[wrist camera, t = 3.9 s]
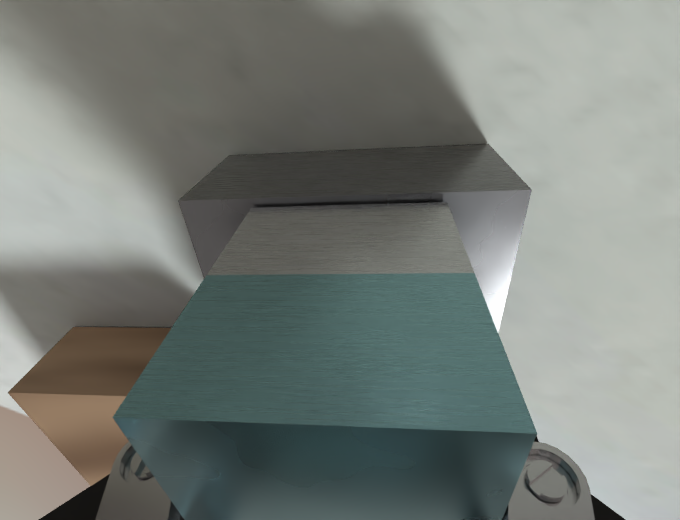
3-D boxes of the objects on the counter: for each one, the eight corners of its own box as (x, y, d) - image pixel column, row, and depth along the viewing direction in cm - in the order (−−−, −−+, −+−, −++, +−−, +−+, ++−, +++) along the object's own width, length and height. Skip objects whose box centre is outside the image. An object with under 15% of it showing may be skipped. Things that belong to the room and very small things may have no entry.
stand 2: (228, 155, 13) (178, 200, 10) (488, 143, 12) (531, 189, 9) (271, 336, 18) (247, 407, 14) (458, 338, 17) (478, 415, 14)
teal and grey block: (251, 207, 9) (112, 417, 4) (447, 202, 9) (537, 434, 4) (293, 397, 14) (248, 610, 9) (426, 401, 13) (456, 629, 8)
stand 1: (73, 326, 19) (7, 392, 15) (240, 328, 18) (209, 398, 14) (137, 428, 24) (98, 494, 20) (271, 433, 23) (253, 504, 19)
